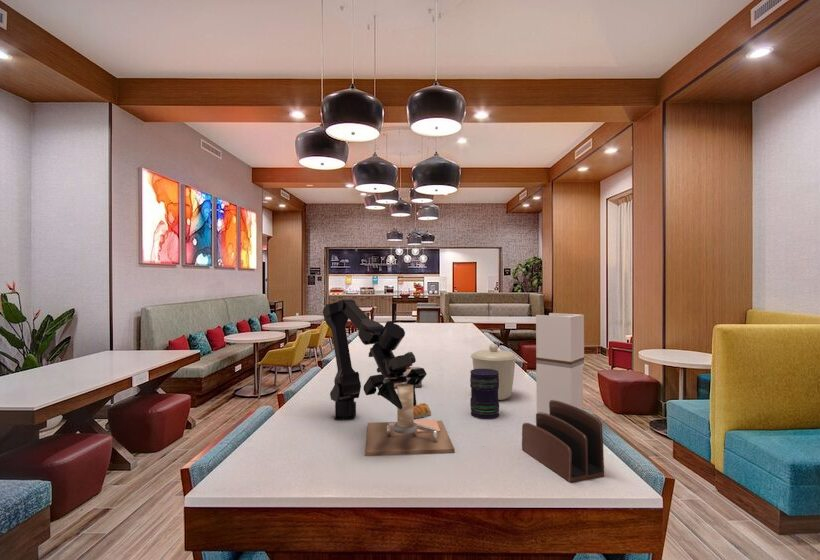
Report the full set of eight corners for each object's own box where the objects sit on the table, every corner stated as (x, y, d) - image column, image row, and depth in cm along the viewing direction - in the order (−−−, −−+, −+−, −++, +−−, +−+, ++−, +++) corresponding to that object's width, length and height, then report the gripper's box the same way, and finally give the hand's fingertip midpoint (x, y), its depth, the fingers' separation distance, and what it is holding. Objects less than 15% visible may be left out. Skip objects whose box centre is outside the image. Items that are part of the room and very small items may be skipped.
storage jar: (481, 421, 138) (481, 375, 138) (464, 413, 146) (464, 370, 146) (505, 416, 142) (505, 372, 142) (487, 408, 151) (487, 367, 151)
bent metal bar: (386, 436, 122) (386, 424, 122) (391, 432, 125) (390, 420, 125) (436, 442, 117) (436, 430, 117) (440, 438, 120) (439, 425, 120)
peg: (394, 434, 112) (394, 389, 112) (393, 425, 118) (393, 383, 118) (418, 433, 112) (417, 388, 112) (416, 425, 119) (415, 382, 119)
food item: (391, 389, 178) (391, 366, 178) (389, 385, 186) (388, 363, 186) (422, 388, 180) (422, 365, 180) (419, 383, 188) (419, 361, 188)
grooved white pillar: (584, 421, 136) (583, 314, 136) (571, 430, 129) (570, 316, 129) (550, 414, 144) (550, 312, 144) (536, 422, 136) (536, 314, 137)
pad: (407, 433, 124) (407, 431, 124) (405, 422, 134) (405, 420, 134) (440, 432, 125) (440, 430, 125) (436, 421, 135) (436, 419, 135)
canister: (523, 395, 169) (523, 342, 169) (508, 406, 153) (507, 349, 153) (481, 389, 178) (481, 339, 178) (463, 399, 163) (463, 345, 163)
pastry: (413, 422, 138) (412, 410, 138) (399, 417, 143) (399, 406, 143) (432, 415, 144) (432, 404, 144) (419, 411, 149) (418, 400, 149)
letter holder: (552, 445, 117) (551, 395, 117) (605, 477, 99) (604, 417, 99) (521, 450, 114) (520, 399, 114) (569, 484, 95) (569, 422, 96)
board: (365, 455, 111) (365, 452, 111) (367, 425, 134) (367, 422, 134) (454, 452, 113) (454, 449, 113) (441, 423, 136) (441, 420, 136)
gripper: (368, 346, 113) (392, 396, 104) (422, 340, 124) (447, 384, 115) (354, 370, 119) (375, 419, 110) (406, 362, 130) (429, 406, 121)
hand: (408, 406), depth 114 cm, fingers closed on peg, 4 cm apart
